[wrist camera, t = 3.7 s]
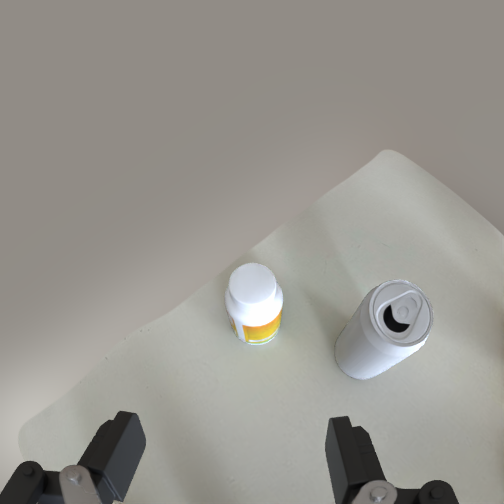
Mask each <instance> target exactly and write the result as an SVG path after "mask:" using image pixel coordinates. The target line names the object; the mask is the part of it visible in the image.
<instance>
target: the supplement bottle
mask: <svg viewBox="0 0 504 504" xmlns="http://www.w3.org/2000/svg"><path fill="white" fill-rule="evenodd" d="M282 305H283V293H282V289H281V287H280V285H279V283H278V282H277V281H276V278H275V276H274V274H273V272H272V271H271V270H270V269H269V268H268V267H266V266H264V265H262V264H259V263H247V264H244V265H241V266H240V267H238V268H237V269H236V270H235V271H234V272H233V273H232V275H231V276H230V279H229V285H228V287H227V289H226V292H225V306H226V309H227V313H228V316H229V319H230V322H231V326H232V329H233V331H234V333H235V334H236V336H237V337H238V338H239V339H240V340H242V341H243V342H245V343H248V344H253V345H259V344H264V343H266V342H268V341H270V340H271V339H272V338H274V337H275V335H276V334H277V332H278V330H279V328H280V324H281V314H282Z"/></svg>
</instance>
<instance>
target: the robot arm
mask: <svg viewBox="0 0 504 504" xmlns="http://www.w3.org/2000/svg"><path fill="white" fill-rule="evenodd" d="M145 446H146V438H145V434H144V432H143V429H142V426H141V423H140V420H139V417H138V415H137V414H136V413H131V412H125V411H119V412H118V413H117V415H116V417H115V418H114V420H108V421H107V422H105V423H104V424H103V425H101V426H100V428H99V429H98V431H97V433H96V436H94V437H93V439H92V442H90V444H89V446H88V447H87V449H86V450H85V452H84V454H83V455H82V457H81V459H80V460H79V462H78V464H77V465H70V466H67V467H65V468H64V469H63V470H62V471H61V472H57V471H45V470H43V468H42V467H41V466H40V465H39V464H38V463H37V462H34V461H26V462H23V463H22V464H20V465H19V466H18V467H17V469H16V470H15V472H14V473H13V475H12V476H11V478H10V480H9V481H8V483H7V484H6V486H5V487H4V489H3V491H2V492H1V494H0V504H112V503H113V500H116V501H120V502H123V501H124V498H125V496H126V493H127V491H128V488H129V486H130V483H131V481H132V479H133V476H134V474H135V471H136V469H137V466H138V464H139V462H140V459H141V457H142V454H143V452H144V450H145ZM325 452H326V458H327V463H328V468H329V473H330V478H331V483H332V488H333V493H334V498H335V503H336V504H459V503H458V500H457V498H456V496H455V493H454V491H453V489H452V487H451V486H450V485H449V484H448V483H447V482H444V481H441V480H434V481H430V482H428V483H426V484H424V485H423V486H422V488H421V489H400V488H397V487H394V486H393V485H392V484H391V483H389V482H387V480H386V479H385V476H384V474H383V471H382V468H381V465H380V463H379V460H378V457H377V455H376V452H375V449H374V447H373V445H372V441H371V439H370V436H369V433H367V432H366V431H365V430H364V429H363V428H362V427H361V426H357V427H352V425H351V422H350V419H349V417H348V416H343V417H335V418H330V419H329V423H328V430H327V436H326V442H325ZM37 502H38V503H37Z"/></svg>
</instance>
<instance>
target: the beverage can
mask: <svg viewBox="0 0 504 504" xmlns="http://www.w3.org/2000/svg"><path fill="white" fill-rule="evenodd" d="M432 325H433V309H432V306H431V303H430V301H429V299H428V297H427V296H426V294H425V293H424V292H423V291H422V290H421V289H420V288H419V287H418V286H416V285H415V284H413V283H411V282H408V281H405V280H390V281H387V282H385V283H383V284H381V285H379V286H377V287H375V288H373V289H372V290H371V291H370V292H369V293H368V294H367V295H366V297H365V298H364V300H363V301H362V303H361V304H360V306H359V307H358V309H357V310H356V312H355V313H354V315H353V316H352V318H351V319H350V321H349V322H348V324H347V325H346V327H345V328H344V329H343V331H342V332H341V334H340V335H339V337H338V339H337V341H336V344H335V357H336V361H337V363H338V365H339V367H340V368H341V370H342V371H343V372H345V373H346V374H347V375H349V376H350V377H353V378H356V379H369V378H372V377H375V376H377V375H378V374H380V373H382V372H383V371H385V370H387V369H388V368H390V367H392V366H393V365H395V364H397V363H398V362H400V361H401V360H403V359H405V358H406V357H408V356H409V355H411V354H412V353H414V352H415V351H417V350H418V349H419V348H420V347H421V346H422V345H423V344H424V343H425V341H426V339H427V337H428V335H429V333H430V331H431V328H432Z"/></svg>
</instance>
